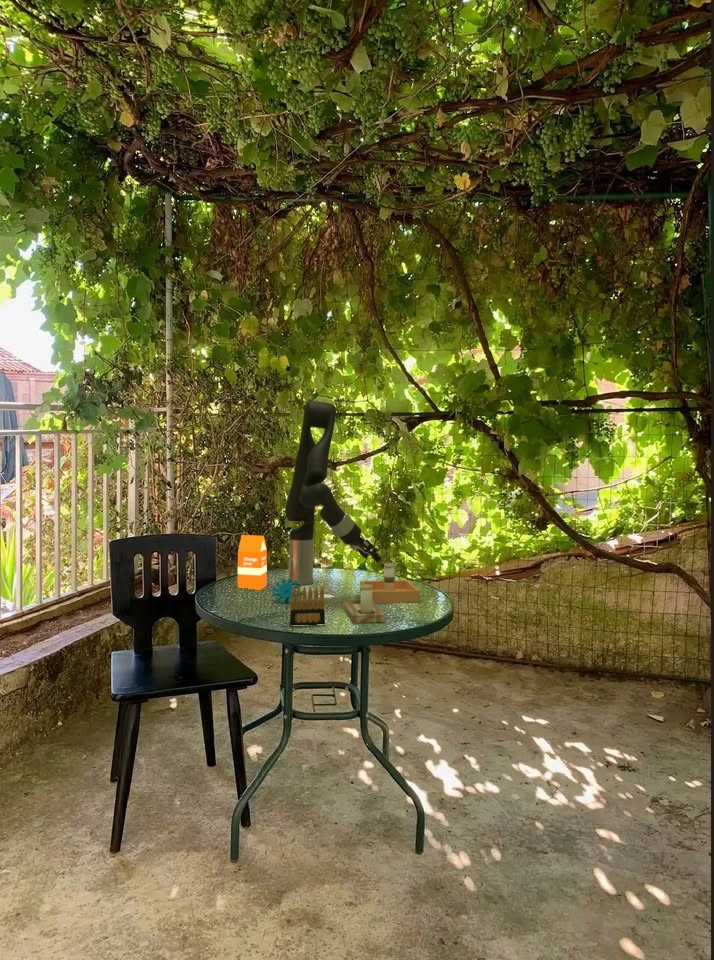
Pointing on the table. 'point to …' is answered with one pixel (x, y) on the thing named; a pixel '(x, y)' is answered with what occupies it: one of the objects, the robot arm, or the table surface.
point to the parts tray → (394, 592)
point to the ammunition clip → (307, 607)
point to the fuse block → (353, 611)
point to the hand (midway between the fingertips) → (373, 558)
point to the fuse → (366, 598)
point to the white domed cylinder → (389, 576)
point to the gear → (285, 590)
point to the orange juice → (252, 562)
